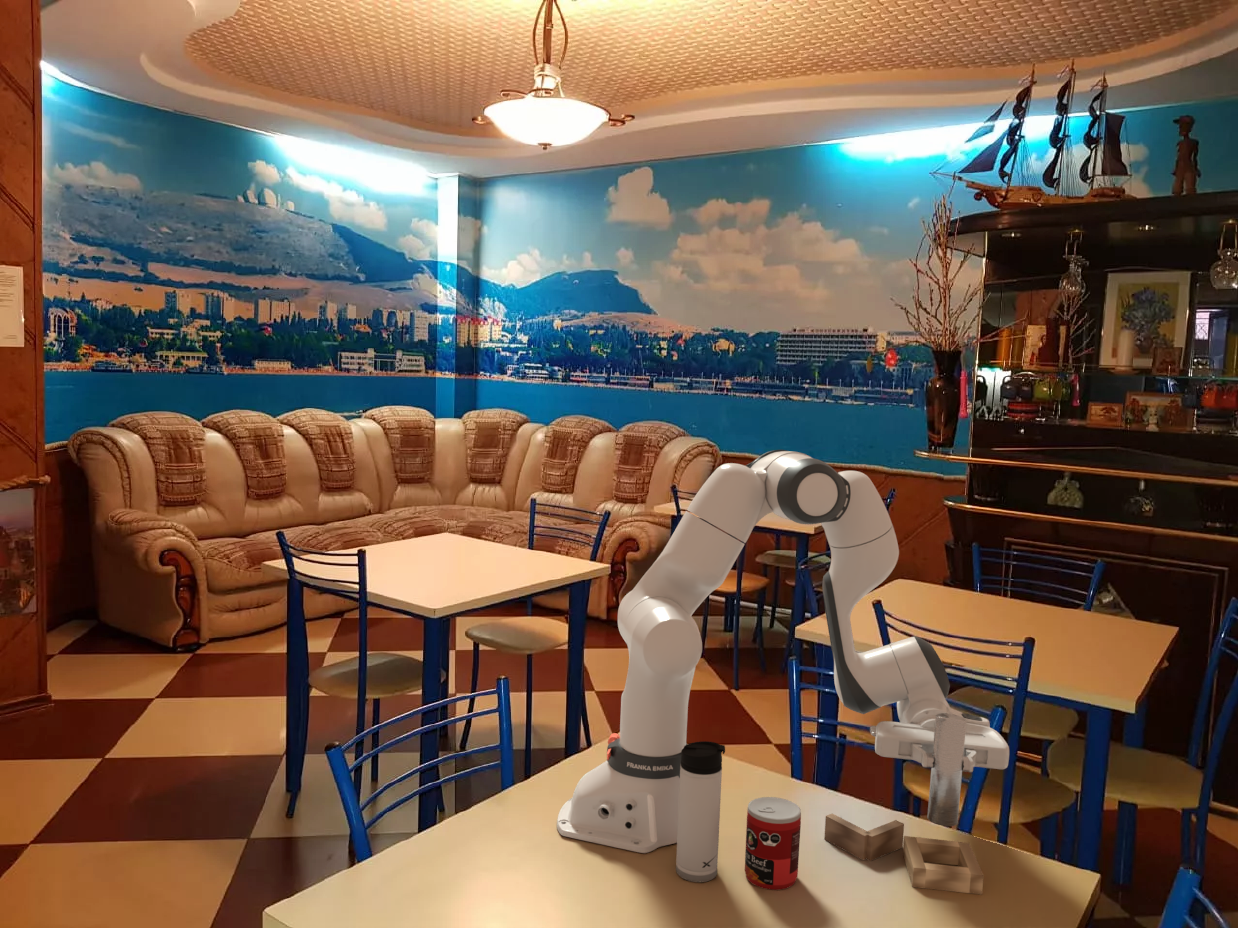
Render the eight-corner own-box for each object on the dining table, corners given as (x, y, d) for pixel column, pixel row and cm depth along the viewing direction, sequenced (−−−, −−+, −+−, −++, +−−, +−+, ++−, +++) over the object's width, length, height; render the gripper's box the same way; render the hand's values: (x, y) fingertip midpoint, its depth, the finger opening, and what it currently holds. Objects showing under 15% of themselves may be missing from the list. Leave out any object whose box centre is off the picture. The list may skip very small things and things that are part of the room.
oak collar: (912, 886, 141) (913, 867, 140) (902, 853, 151) (904, 835, 150) (982, 894, 139) (983, 875, 139) (967, 860, 149) (969, 842, 149)
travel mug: (717, 885, 139) (723, 755, 137) (673, 879, 140) (678, 750, 138) (721, 864, 145) (727, 739, 143) (678, 859, 146) (684, 734, 145)
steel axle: (930, 824, 142) (938, 721, 141) (925, 811, 147) (933, 711, 145) (960, 827, 142) (969, 725, 140) (954, 814, 146) (963, 714, 144)
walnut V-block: (826, 855, 149) (827, 831, 149) (823, 835, 156) (825, 812, 155) (907, 864, 147) (909, 840, 147) (901, 844, 154) (903, 820, 153)
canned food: (734, 869, 144) (738, 800, 143) (779, 860, 147) (782, 792, 146) (761, 895, 137) (765, 822, 136) (807, 885, 140) (811, 814, 139)
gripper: (869, 706, 157) (879, 737, 144) (997, 719, 154) (1019, 751, 141) (867, 743, 158) (876, 776, 144) (994, 756, 155) (1016, 792, 141)
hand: (948, 764), depth 142 cm, fingers closed on steel axle, 4 cm apart
